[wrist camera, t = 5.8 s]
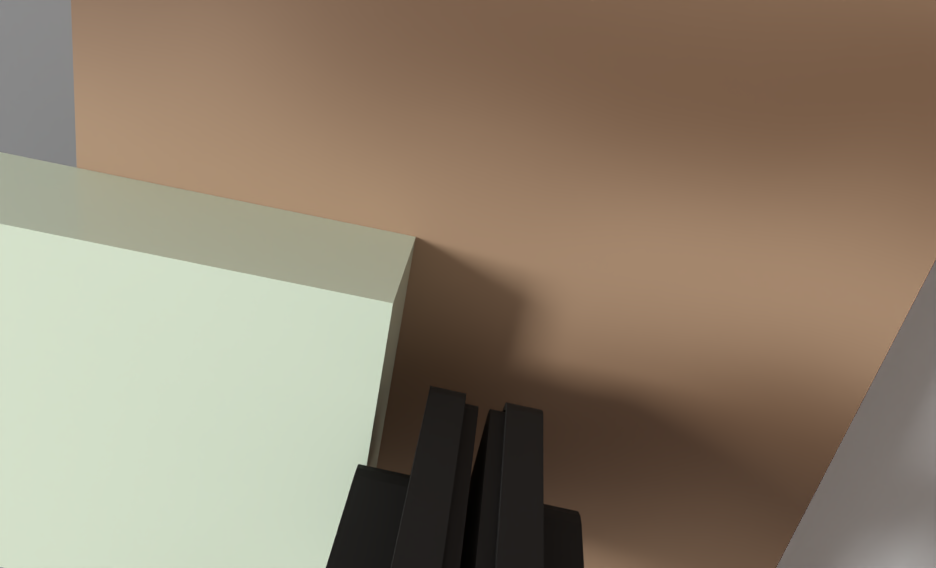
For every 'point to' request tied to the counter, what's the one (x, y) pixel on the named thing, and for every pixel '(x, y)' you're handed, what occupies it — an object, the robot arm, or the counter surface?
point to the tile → (184, 372)
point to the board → (579, 217)
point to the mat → (37, 81)
